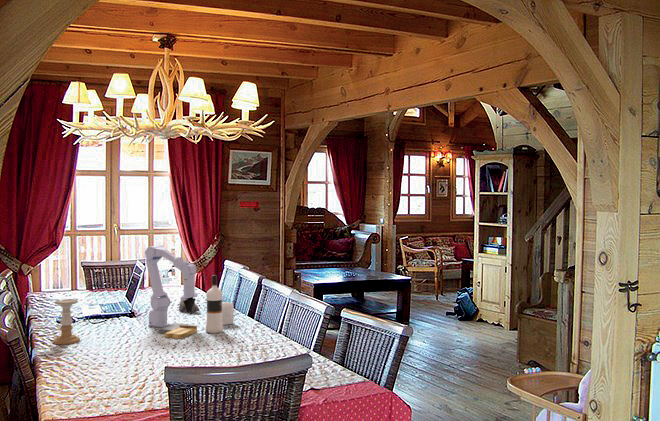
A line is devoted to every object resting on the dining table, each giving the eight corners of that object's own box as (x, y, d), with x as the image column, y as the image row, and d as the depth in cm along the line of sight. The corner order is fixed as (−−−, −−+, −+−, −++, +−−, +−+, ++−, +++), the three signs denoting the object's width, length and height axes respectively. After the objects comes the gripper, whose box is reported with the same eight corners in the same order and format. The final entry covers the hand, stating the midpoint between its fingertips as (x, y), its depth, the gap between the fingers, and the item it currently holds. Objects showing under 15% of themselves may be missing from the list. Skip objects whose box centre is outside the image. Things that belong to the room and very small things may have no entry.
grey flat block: (158, 332, 327) (158, 328, 327) (174, 326, 343) (174, 322, 343) (172, 334, 325) (172, 330, 325) (187, 327, 340) (187, 323, 340)
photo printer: (231, 322, 354) (231, 300, 354) (234, 324, 350) (234, 302, 350) (214, 324, 348) (214, 302, 348) (217, 326, 345) (217, 303, 344)
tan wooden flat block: (164, 337, 318) (164, 330, 318) (181, 330, 333) (181, 324, 333) (181, 338, 315) (181, 332, 315) (196, 331, 330) (196, 325, 330)
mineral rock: (200, 313, 380) (200, 297, 380) (182, 315, 375) (182, 298, 375) (195, 310, 392) (195, 294, 391) (177, 311, 387) (177, 295, 386)
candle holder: (85, 340, 311) (85, 299, 310) (67, 345, 299) (67, 303, 299) (65, 338, 315) (65, 298, 314) (47, 343, 303) (46, 302, 303)
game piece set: (250, 362, 273) (250, 353, 273) (215, 356, 284) (215, 347, 284) (277, 353, 290) (277, 344, 290) (243, 347, 300) (243, 339, 300)
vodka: (204, 330, 334) (204, 274, 333) (221, 329, 337) (221, 273, 336) (207, 334, 325) (207, 276, 324) (224, 332, 329) (224, 275, 328)
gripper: (188, 289, 327) (188, 315, 327) (202, 285, 341) (202, 310, 341) (176, 288, 329) (176, 314, 329) (190, 284, 343) (190, 309, 343)
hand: (189, 312), depth 335 cm, fingers closed
